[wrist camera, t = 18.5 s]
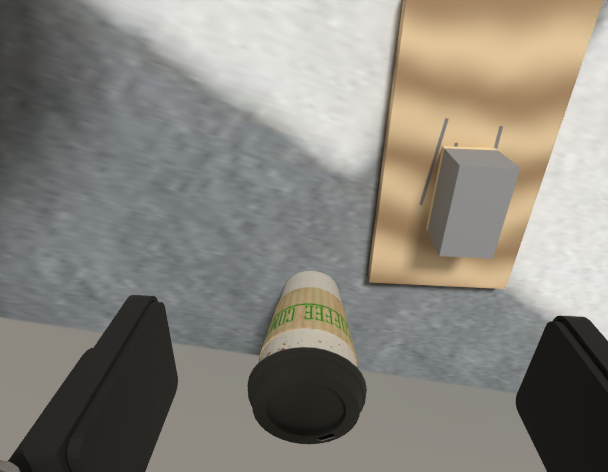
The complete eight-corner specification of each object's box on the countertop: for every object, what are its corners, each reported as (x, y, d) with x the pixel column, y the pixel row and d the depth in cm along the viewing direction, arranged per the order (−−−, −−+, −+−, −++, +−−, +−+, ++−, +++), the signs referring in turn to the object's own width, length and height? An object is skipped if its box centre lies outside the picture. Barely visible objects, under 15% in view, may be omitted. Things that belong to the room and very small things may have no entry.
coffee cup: (332, 242, 41) (335, 350, 28) (369, 310, 45) (387, 431, 32) (250, 276, 44) (219, 389, 31) (293, 337, 48) (281, 460, 35)
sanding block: (442, 146, 34) (459, 165, 30) (495, 148, 34) (520, 168, 30) (426, 228, 38) (439, 256, 34) (473, 230, 38) (492, 258, 34)
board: (404, -10, 30) (407, -12, 29) (592, -5, 30) (605, -6, 29) (367, 274, 43) (369, 282, 42) (499, 280, 43) (505, 288, 41)
